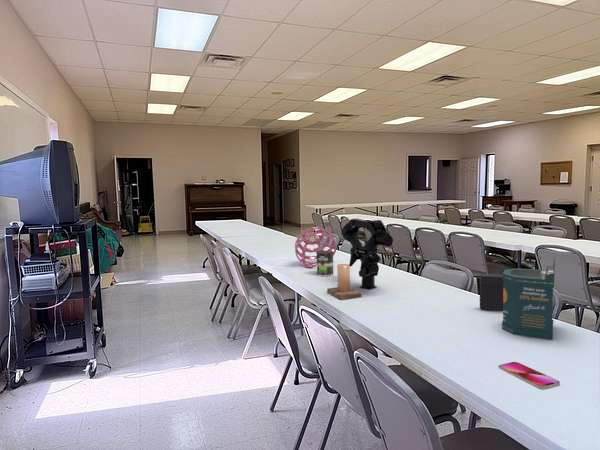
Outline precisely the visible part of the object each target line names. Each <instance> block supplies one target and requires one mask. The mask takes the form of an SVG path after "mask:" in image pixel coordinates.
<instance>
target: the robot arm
mask: <svg viewBox="0 0 600 450" xmlns="http://www.w3.org/2000/svg"><path fill="white" fill-rule="evenodd" d="M360 228H362V229H365V230H366V231H367V232H370V235H371V236H370V237H369V238H368V240H365V241H364V245H363V244H362V242H361V241H360V239H359V238H358V237H359V231H360ZM340 232H341V233H340V234H341V236H342V237H343V239H344V240H345V241H347V242H348V243H350V244H351V246H352V247H351V248H350V250H349V252H350V258H349V259H350V260H349V263H348V264H349V265H350V267H353V265H354V264H355V263H356V262H357V260H358V261H360V268H359V269H360V270H359V271H358V275H359V277H360V278H361V285H360V286H359V287H360V288H362V289H365V290H371V289H375V288H378V286H377V285H376V284H375V279H376V278H375V277H377V276H378V274H379V270H380V266H379V262H380V261H381V256H380V255H379V254H378V253H377V252H378V247H379V246H382V247H390V246H392V245H393V242H394V239H393V236H392V235H390V232H389V231H388V230H387V228H386V227H385V224H384V223H383V221H382V220H381V219H375V220H373V219H372V220H368V219H367V220H366V219H362V218H361V219H360V218H351V219H350V220H349V221H348V222H347V223H346V224H345V225H343V227H342V229H341V231H340Z"/></svg>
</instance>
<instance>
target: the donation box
mask: <svg viewBox="0 0 600 450" xmlns="http://www.w3.org/2000/svg"><path fill="white" fill-rule="evenodd" d="M555 264H556V252H554V253H553V264H552V265H546V270H545V269H535V268H534V269H533V268H532V269H531V268H520V267H519V268H509V269H508V268H507V269H504V271H503V273H502V275H503V280H504V290H503V312H502V322H501V329H502V330H503V331H505V332H508V333H509V334H512V335H515V336H521V337H528V338H535V339H542V340H548V341H553V340H554V339H553V337H554V336H553V335H554V319H553V309H554V308H553V306H554V305H553V303H554V288H555V274H556V273H555V272H556V271H555V269H556V265H555Z"/></svg>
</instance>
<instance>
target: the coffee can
mask: <svg viewBox="0 0 600 450" xmlns="http://www.w3.org/2000/svg"><path fill="white" fill-rule="evenodd" d="M333 252H334V250H332V251H327V250H324V251H317V252H315V253H316V256H317V259H316V262H317V265H316V275H317V276H318V275H319V276H318V277H332V276H334V256H333Z"/></svg>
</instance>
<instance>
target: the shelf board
mask: <svg viewBox="0 0 600 450" xmlns="http://www.w3.org/2000/svg"><path fill="white" fill-rule="evenodd" d="M326 289H327V290H326V291H327V294H330V296H331V295H332V296H333V297H335V298H336V299H338V300H339V301H344V300H346V301H347V300H351V299H360V298H362V293H361V292H360V291H357V290H356V289H353V288H352V287H350V291H349V292H339V291H338V286H336V287H328V288H326Z"/></svg>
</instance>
